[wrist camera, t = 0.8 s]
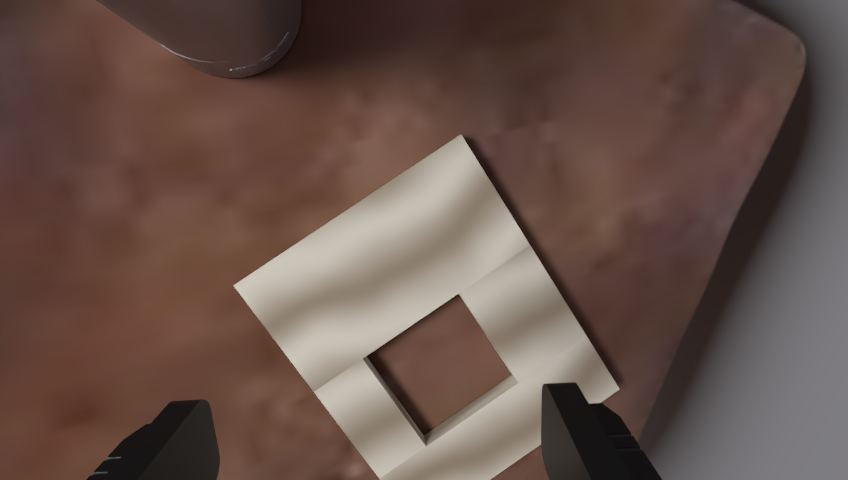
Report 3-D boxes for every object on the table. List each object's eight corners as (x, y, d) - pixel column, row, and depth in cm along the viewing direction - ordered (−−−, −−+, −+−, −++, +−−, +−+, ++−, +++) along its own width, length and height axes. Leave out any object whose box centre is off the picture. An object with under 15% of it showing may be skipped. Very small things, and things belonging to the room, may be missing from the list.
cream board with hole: (239, 280, 32) (233, 285, 30) (457, 136, 33) (461, 134, 31) (416, 515, 35) (418, 529, 34) (609, 380, 36) (619, 389, 34)
